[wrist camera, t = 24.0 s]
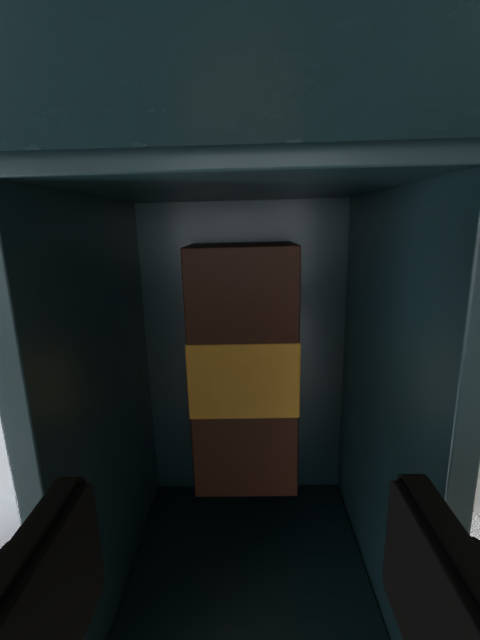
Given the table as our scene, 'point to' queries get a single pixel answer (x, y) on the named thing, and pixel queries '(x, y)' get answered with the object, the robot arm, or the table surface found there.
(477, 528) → the table surface
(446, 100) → the bin lid
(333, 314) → the box
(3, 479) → the table surface
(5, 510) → the table surface
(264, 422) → the chocolate bar
